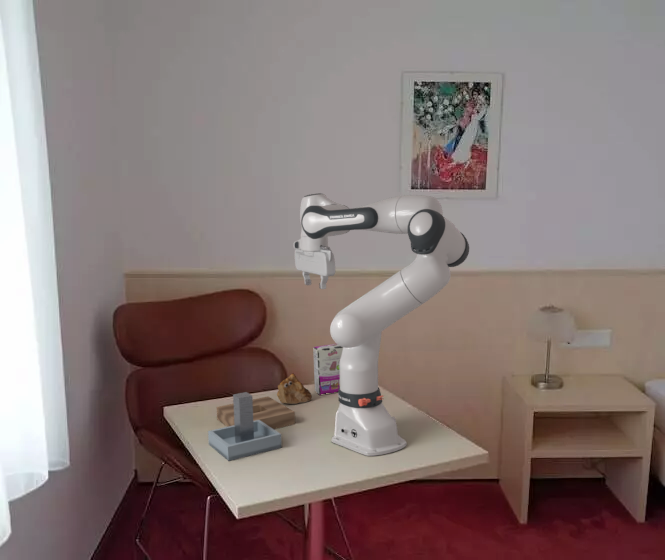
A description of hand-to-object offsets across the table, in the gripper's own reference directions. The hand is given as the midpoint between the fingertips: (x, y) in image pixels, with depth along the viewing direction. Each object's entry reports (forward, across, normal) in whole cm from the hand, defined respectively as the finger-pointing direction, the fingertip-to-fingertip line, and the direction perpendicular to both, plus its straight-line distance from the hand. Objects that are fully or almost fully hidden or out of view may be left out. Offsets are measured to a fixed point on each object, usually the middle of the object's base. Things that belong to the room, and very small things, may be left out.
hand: (315, 286), depth 226 cm
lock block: (+39, -4, +25) cm, 47 cm away
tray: (+39, -20, +36) cm, 57 cm away
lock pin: (+38, -20, +36) cm, 56 cm away
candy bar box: (+39, +8, -10) cm, 41 cm away
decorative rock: (+40, +4, +7) cm, 40 cm away
